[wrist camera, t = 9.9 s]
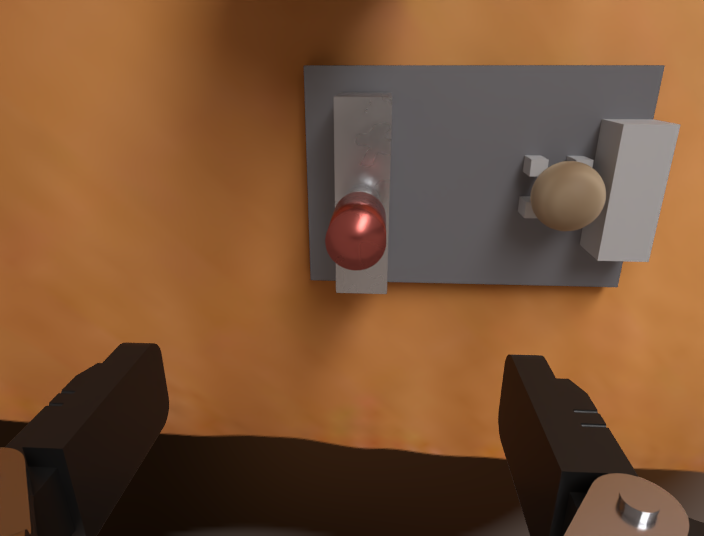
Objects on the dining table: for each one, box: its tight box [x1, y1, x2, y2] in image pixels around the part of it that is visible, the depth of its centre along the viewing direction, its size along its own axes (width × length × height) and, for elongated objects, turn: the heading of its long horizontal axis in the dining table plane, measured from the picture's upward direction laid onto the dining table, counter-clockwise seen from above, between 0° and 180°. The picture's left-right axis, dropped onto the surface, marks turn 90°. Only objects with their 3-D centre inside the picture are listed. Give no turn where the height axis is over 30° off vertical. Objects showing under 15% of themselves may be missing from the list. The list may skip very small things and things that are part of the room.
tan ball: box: [530, 161, 606, 231], centre depth 29 cm, size 4×4×4 cm
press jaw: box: [325, 92, 392, 294], centre depth 27 cm, size 3×11×12 cm, turn 0°
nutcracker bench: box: [304, 65, 680, 287], centre depth 32 cm, size 21×14×4 cm, turn 90°
